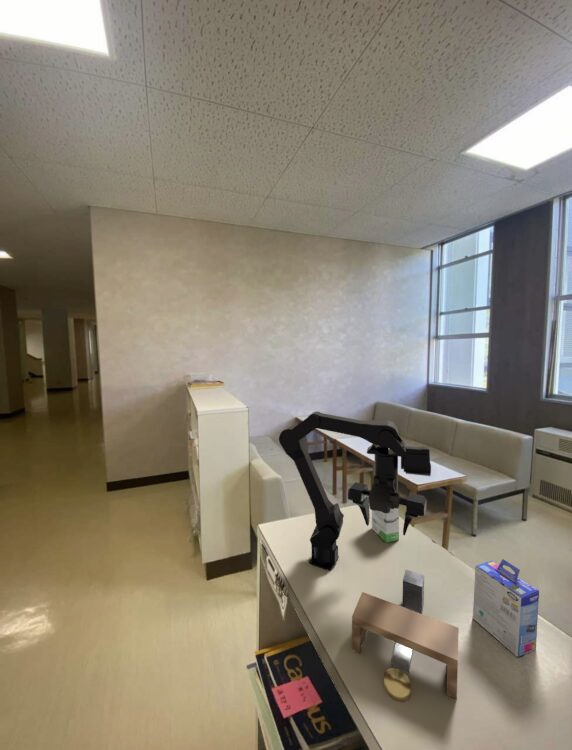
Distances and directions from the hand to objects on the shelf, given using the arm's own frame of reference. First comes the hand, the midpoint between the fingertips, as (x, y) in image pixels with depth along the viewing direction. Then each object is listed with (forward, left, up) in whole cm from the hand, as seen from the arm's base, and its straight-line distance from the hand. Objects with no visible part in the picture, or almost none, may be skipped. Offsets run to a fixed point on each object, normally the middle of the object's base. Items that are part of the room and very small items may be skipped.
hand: (385, 529), depth 81 cm
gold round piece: (+8, -27, -12) cm, 31 cm away
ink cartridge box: (+25, -6, -12) cm, 29 cm away
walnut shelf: (+8, -21, -12) cm, 25 cm away
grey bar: (+8, -15, -12) cm, 21 cm away
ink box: (-4, +18, -12) cm, 22 cm away
